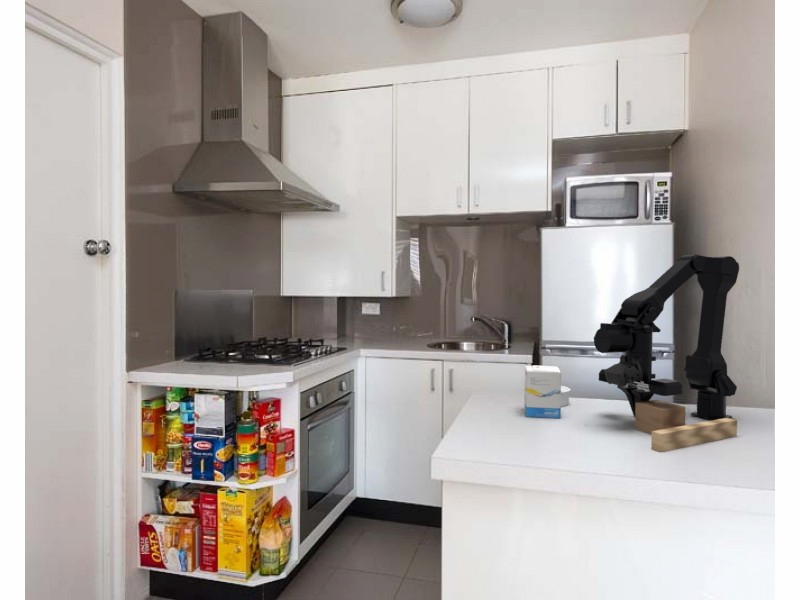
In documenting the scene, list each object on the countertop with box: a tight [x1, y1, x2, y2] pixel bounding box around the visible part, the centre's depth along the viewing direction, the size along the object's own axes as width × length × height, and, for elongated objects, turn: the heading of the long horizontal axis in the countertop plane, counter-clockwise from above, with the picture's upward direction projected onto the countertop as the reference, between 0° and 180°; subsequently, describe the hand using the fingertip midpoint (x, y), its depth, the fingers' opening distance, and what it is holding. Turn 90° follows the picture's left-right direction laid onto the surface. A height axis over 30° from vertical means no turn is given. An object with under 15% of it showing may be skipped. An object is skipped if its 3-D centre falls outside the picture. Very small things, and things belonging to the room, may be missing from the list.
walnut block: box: [634, 399, 686, 435], centre depth 108 cm, size 7×7×6 cm
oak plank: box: [650, 418, 738, 453], centre depth 101 cm, size 24×2×4 cm, turn 114°
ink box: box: [523, 364, 562, 419], centre depth 123 cm, size 9×8×12 cm
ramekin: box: [561, 385, 571, 407], centre depth 134 cm, size 9×9×4 cm
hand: (636, 417), depth 114 cm, fingers closed
